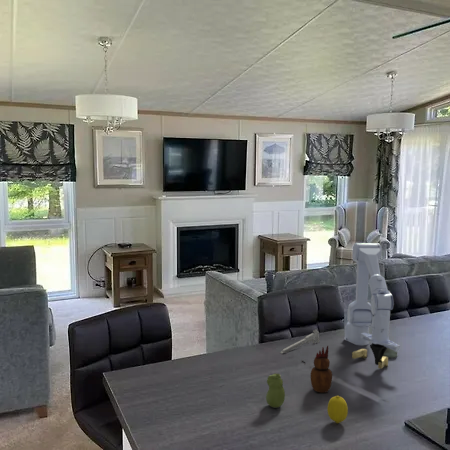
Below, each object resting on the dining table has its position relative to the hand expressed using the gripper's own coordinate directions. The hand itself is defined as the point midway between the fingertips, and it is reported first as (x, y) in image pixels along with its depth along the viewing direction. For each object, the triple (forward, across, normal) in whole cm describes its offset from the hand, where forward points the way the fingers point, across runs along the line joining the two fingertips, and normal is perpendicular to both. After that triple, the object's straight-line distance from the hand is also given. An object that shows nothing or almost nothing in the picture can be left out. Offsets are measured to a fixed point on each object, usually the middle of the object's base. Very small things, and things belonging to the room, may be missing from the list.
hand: (378, 364), depth 157 cm
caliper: (+4, -32, -6) cm, 33 cm away
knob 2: (+2, 0, +2) cm, 3 cm away
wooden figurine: (+3, -2, -27) cm, 27 cm away
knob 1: (+2, -9, +2) cm, 10 cm away
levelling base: (+3, -6, +9) cm, 11 cm away
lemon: (+3, +14, -38) cm, 40 cm away
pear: (+3, -3, -46) cm, 46 cm away
